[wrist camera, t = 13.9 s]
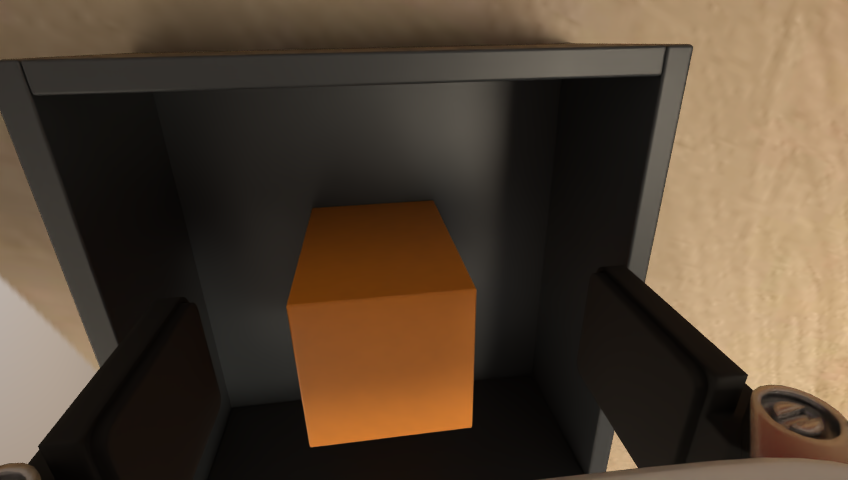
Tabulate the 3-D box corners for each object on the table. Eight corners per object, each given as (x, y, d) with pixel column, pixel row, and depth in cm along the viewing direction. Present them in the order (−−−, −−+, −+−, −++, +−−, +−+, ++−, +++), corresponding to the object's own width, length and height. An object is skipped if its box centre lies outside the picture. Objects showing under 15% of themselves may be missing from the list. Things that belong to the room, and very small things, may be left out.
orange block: (433, 200, 15) (477, 289, 10) (435, 302, 17) (472, 428, 11) (311, 207, 15) (284, 305, 9) (325, 312, 16) (309, 448, 11)
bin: (574, 43, 14) (695, 44, 9) (539, 374, 20) (603, 490, 15) (129, 53, 13) (-22, 60, 8) (223, 409, 18) (170, 553, 13)
